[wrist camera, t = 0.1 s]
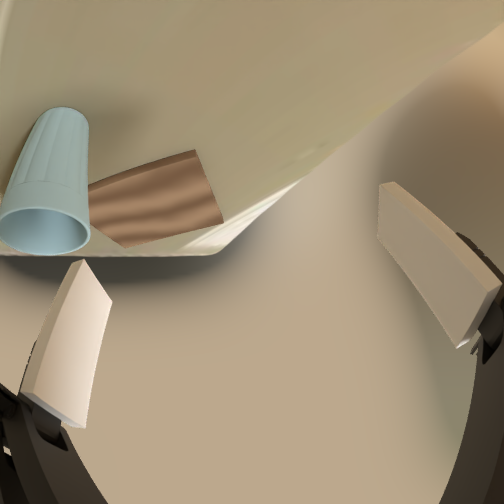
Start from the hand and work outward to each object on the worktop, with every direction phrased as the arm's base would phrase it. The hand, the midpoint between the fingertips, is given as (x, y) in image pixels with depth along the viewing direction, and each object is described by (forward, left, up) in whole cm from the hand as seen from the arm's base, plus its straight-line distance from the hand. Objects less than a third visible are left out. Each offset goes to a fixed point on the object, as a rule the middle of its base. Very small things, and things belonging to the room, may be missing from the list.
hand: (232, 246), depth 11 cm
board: (+20, -11, -15) cm, 27 cm away
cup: (+2, -13, -16) cm, 20 cm away
